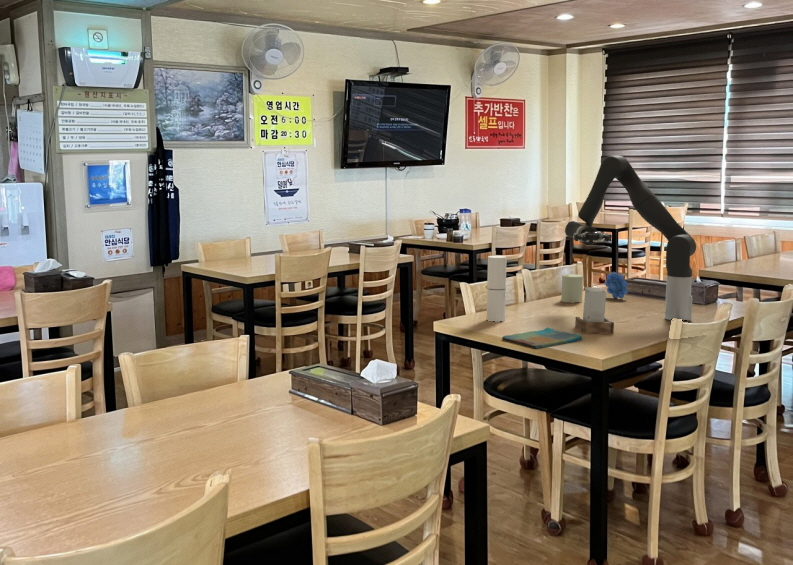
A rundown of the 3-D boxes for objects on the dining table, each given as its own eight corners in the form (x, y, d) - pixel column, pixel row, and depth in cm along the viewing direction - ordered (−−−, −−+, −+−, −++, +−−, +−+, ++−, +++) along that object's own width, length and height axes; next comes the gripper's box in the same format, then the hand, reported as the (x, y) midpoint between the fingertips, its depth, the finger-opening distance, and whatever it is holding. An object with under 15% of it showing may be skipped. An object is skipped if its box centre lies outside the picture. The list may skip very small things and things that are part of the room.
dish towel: (584, 341, 276) (584, 334, 276) (536, 351, 263) (537, 343, 262) (547, 333, 290) (547, 326, 290) (500, 341, 276) (500, 334, 276)
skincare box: (581, 326, 297) (583, 286, 295) (597, 326, 297) (599, 286, 295) (588, 331, 289) (590, 290, 286) (605, 330, 289) (606, 290, 287)
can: (557, 299, 356) (558, 273, 354) (575, 298, 359) (576, 272, 357) (567, 303, 348) (568, 276, 346) (586, 302, 350) (587, 275, 348)
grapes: (599, 297, 362) (600, 271, 360) (607, 296, 367) (608, 270, 365) (621, 301, 354) (623, 274, 352) (629, 299, 358) (631, 273, 356)
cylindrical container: (490, 322, 306) (492, 258, 302) (483, 319, 312) (485, 255, 309) (507, 321, 307) (509, 257, 304) (500, 318, 314) (502, 255, 310)
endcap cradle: (605, 327, 298) (606, 316, 297) (613, 333, 287) (614, 322, 286) (575, 327, 298) (575, 316, 297) (581, 333, 287) (582, 322, 286)
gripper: (569, 225, 320) (578, 229, 304) (604, 225, 320) (615, 229, 304) (568, 244, 322) (577, 248, 306) (603, 244, 322) (614, 248, 306)
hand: (596, 238), depth 305 cm, fingers open, 8 cm apart
